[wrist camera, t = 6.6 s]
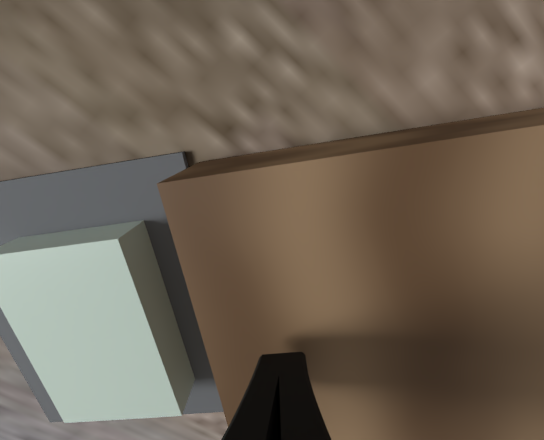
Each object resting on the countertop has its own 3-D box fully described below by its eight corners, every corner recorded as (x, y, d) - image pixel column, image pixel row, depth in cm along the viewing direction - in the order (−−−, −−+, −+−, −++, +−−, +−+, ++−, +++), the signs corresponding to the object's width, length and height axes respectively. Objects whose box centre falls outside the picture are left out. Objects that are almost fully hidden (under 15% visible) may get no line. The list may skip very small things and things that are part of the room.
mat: (184, 151, 12) (181, 152, 11) (248, 405, 16) (247, 410, 16) (-73, 193, 13) (-81, 194, 13) (54, 417, 17) (50, 422, 17)
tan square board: (611, 97, 10) (802, 85, 6) (553, 378, 14) (647, 471, 11) (199, 162, 12) (156, 183, 8) (256, 397, 16) (245, 485, 12)
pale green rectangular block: (-27, 258, 11) (18, 237, 13) (64, 422, 14) (90, 386, 16) (117, 238, 11) (143, 220, 12) (181, 415, 13) (195, 379, 15)
